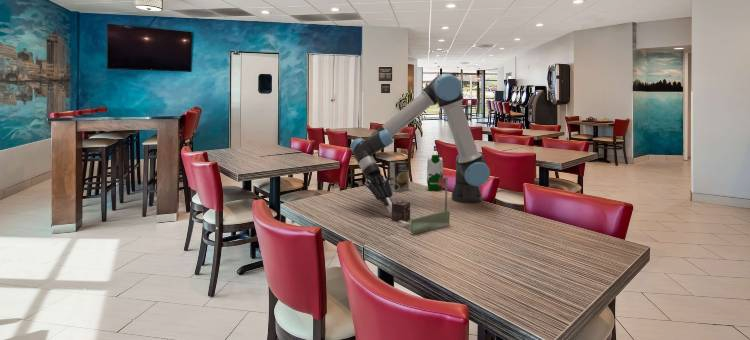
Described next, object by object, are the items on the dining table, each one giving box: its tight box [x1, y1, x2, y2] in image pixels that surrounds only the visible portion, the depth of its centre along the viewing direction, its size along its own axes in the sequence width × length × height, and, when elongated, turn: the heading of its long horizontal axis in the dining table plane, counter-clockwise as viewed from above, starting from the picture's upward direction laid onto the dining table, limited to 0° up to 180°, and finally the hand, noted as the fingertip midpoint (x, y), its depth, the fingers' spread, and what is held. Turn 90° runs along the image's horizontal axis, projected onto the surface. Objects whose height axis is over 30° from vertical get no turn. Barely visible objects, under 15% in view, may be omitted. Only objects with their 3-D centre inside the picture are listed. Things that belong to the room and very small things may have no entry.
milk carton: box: [426, 154, 444, 192], centre depth 245 cm, size 9×9×20 cm
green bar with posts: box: [398, 176, 451, 235], centre depth 176 cm, size 13×20×20 cm, turn 128°
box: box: [391, 200, 411, 222], centre depth 187 cm, size 6×6×7 cm
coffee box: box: [389, 160, 410, 193], centre depth 244 cm, size 9×6×16 cm
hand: (392, 211), depth 190 cm, fingers closed
